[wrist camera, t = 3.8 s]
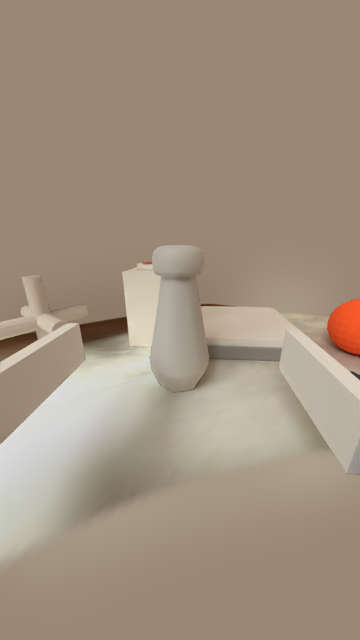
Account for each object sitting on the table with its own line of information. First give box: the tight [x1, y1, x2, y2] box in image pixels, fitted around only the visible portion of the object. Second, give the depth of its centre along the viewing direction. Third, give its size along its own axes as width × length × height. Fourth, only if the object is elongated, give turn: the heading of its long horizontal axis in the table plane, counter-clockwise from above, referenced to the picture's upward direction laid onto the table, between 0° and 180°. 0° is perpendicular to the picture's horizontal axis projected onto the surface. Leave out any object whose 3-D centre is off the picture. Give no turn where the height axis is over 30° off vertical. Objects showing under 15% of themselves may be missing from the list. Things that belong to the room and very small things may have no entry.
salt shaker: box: [150, 245, 209, 393], centre depth 19 cm, size 6×6×13 cm
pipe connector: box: [0, 275, 89, 340], centre depth 24 cm, size 10×10×10 cm
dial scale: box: [123, 262, 298, 361], centre depth 30 cm, size 23×15×11 cm, turn 85°
